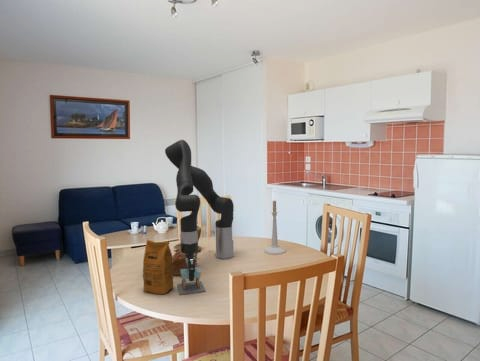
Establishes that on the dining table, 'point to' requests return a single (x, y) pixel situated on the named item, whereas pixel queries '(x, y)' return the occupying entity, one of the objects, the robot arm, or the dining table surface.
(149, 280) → the coffee package
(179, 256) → the bread
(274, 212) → the candlestick
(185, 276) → the blue block with pegs
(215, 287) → the dining table surface
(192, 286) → the mat
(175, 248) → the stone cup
